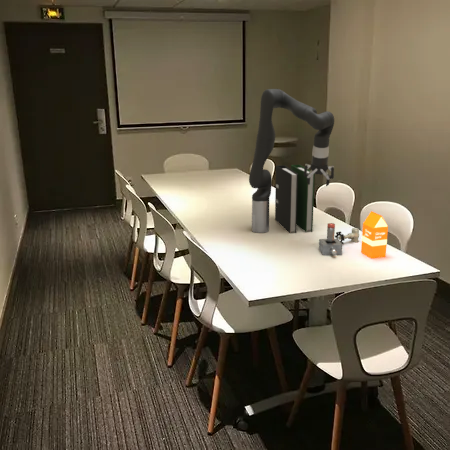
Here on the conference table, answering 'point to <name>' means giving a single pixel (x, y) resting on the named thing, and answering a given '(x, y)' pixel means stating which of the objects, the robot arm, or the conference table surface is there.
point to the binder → (294, 198)
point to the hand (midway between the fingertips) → (317, 184)
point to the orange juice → (374, 236)
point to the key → (330, 232)
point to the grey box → (330, 247)
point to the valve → (349, 235)
